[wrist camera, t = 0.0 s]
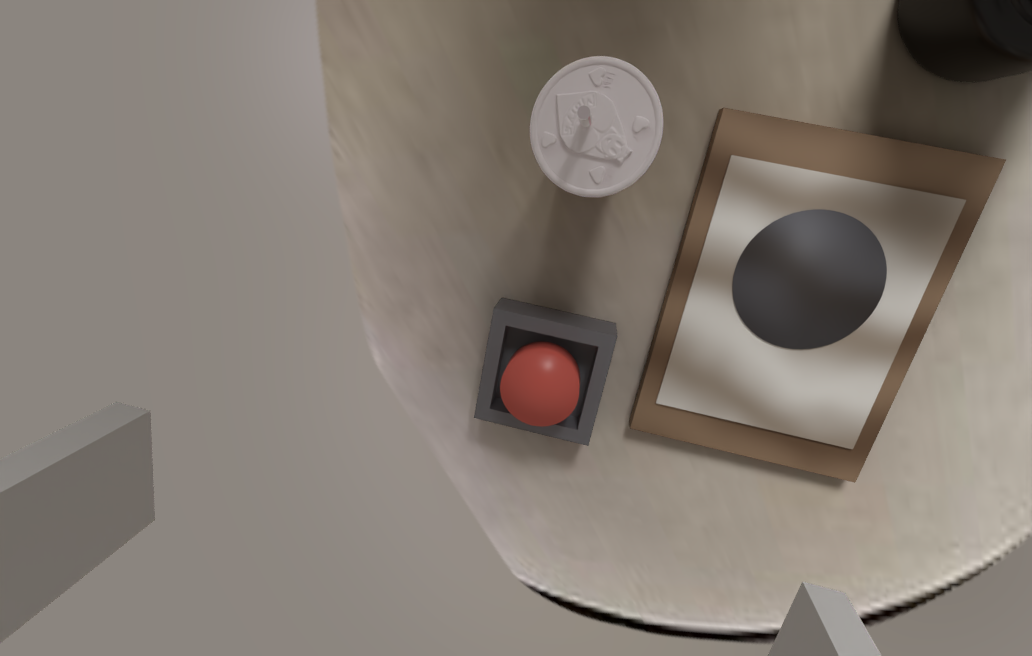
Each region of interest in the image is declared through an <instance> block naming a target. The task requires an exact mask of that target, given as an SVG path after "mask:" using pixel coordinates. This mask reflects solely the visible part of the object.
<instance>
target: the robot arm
mask: <svg viewBox="0 0 1032 656" xmlns="http://www.w3.org/2000/svg"><path fill="white" fill-rule="evenodd" d="M154 520H155V512H154V487H153V465H152V438H151V413H150V411H149V410H146V409H142V408H138V407H134V406H130V405H127V404H122V403H119V402H115V403H113V404H111V405H109V406H107V407H105V408H103V409H101V410H99V411H97V412H95V413H93V414H91V415H89V416H87V417H84V418H83V419H81V420H79V421H76V422H75V423H72V424H70V425H68V426H66V427H64V428H62V429H60V430H58V431H56V432H54V433H52V434H50V435H48V436H46V437H44V438H42V439H40V440H38V441H36V442H34V443H31V444H29V445H27V446H25V447H23V448H21V449H19V450H17V451H15V452H13V453H11V454H9V455H7V456H5V457H3V458H1V459H0V643H1V642H3V641H4V640H5V639H6V638H7V637H9V636H10V635H11V634H13V633H14V632H15V631H16V630H18V629H19V628H20V627H21V626H23V625H24V624H25V623H26V622H27V621H29V620H30V619H31V618H33V617H34V616H35V615H36V614H38V613H39V612H40V611H41V610H43V609H44V608H45V607H46V606H48V605H49V604H50V603H51V602H53V601H54V600H55V599H56V598H58V597H59V596H60V595H61V594H63V593H64V592H65V591H66V590H68V589H69V588H70V587H72V586H73V585H74V584H75V583H76V582H78V581H79V580H80V579H82V578H83V577H84V576H85V575H87V574H88V573H89V572H90V571H92V570H93V569H94V568H95V567H97V566H98V565H99V564H100V563H102V562H103V561H104V560H105V559H106V558H108V557H109V556H110V555H112V554H113V553H114V552H115V551H117V550H118V549H119V548H120V547H122V546H123V545H124V544H125V543H127V542H128V541H129V540H130V539H132V538H133V537H134V536H135V535H137V534H138V533H139V532H140V531H141V530H143V529H144V528H145V527H147V526H148V525H149V524H150V523H152V522H153V521H154ZM768 656H881V654H880V652H879V651H878V649H877V647H876V645H875V643H874V642H873V640H872V638H871V636H870V635H869V633H868V631H867V630H866V628H865V626H864V624H863V623H862V621H861V619H860V617H859V616H858V614H857V612H856V610H855V609H854V607H853V605H852V603H851V602H850V600H849V598H848V597H847V595H846V593H844V592H841V591H837V590H833V589H829V588H825V587H821V586H818V585H814V584H810V583H806V582H802V584H801V586H800V588H799V590H798V592H797V595H796V597H795V599H794V601H793V603H792V605H791V607H790V609H789V612H788V614H787V616H786V618H785V620H784V622H783V624H782V627H781V629H780V631H779V633H778V635H777V637H776V639H775V641H774V644H773V646H772V648H771V650H770V652H769V654H768Z"/></svg>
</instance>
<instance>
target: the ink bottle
mask: <svg viewBox="0 0 1032 656" xmlns="http://www.w3.org/2000/svg"><path fill="white" fill-rule="evenodd" d="M898 25H899V30H900V34H901V37H902V40H903V42H904V44H905V46H906V48H907V50H908V51H909V53H910V54H911V55H912V57H913V58H914V59H915V60H916V61H917V62H918V63H919V64H920V65H921V66H922V67H924V68H925V69H926V70H928V71H929V72H931V73H933V74H935V75H937V76H939V77H942V78H944V79H948V80H952V81H957V82H982V81H988V80H993V79H998V78H1003V77H1007V76H1012V75H1016V74H1021V73H1025V72H1030V71H1032V0H899V5H898Z"/></svg>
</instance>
